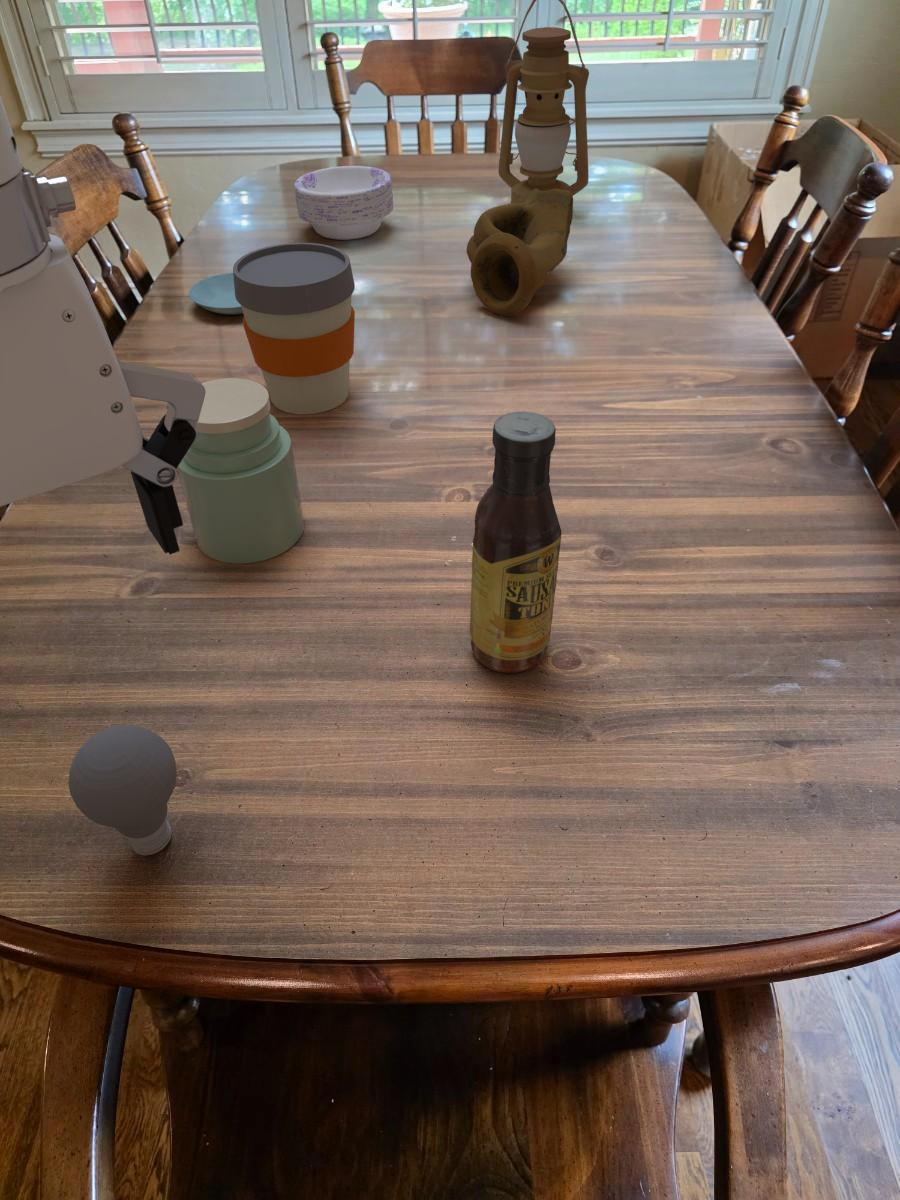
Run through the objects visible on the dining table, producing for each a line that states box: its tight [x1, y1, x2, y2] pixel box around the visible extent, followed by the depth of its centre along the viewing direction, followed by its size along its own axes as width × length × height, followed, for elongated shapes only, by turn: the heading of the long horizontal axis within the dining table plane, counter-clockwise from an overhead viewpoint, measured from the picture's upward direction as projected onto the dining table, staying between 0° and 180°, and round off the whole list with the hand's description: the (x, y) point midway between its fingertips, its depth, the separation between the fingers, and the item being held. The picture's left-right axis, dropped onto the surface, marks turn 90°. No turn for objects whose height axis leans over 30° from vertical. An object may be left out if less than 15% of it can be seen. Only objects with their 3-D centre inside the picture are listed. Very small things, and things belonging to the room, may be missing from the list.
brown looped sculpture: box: [466, 188, 574, 317], centre depth 119 cm, size 18×13×22 cm
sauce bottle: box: [469, 411, 563, 674], centre depth 62 cm, size 6×6×20 cm
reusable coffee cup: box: [232, 242, 356, 415], centre depth 95 cm, size 13×13×15 cm
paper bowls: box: [293, 165, 394, 241], centre depth 137 cm, size 15×15×8 cm
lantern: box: [498, 0, 590, 204], centre depth 135 cm, size 15×10×30 cm
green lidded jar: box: [176, 377, 305, 565], centre depth 76 cm, size 10×10×14 cm
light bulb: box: [68, 724, 178, 856], centre depth 53 cm, size 6×6×10 cm
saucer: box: [188, 272, 244, 316], centre depth 118 cm, size 12×12×2 cm
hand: (73, 573), depth 45 cm, fingers open, 9 cm apart
